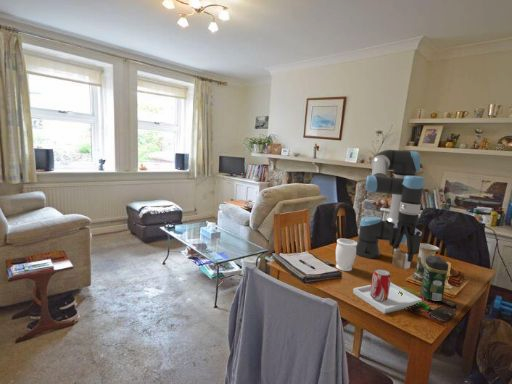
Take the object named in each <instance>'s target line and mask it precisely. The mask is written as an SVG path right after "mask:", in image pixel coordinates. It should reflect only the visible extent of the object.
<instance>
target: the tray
mask: <svg viewBox="0 0 512 384" xmlns="http://www.w3.org/2000/svg"><path fill="white" fill-rule="evenodd" d="M399 291H400V292H402V293H403V295H402V296H401V294H400V293H399ZM370 292H371V284H368V285H364V286H357V287H353V290H352V293H353V294H354V295H356V296H357V297H359V298H360V299H361V300H363V301H365V302H366V303H368V304H369V305H370V306H372V307H373V308H375V309H376V310H377V311H379V312H381V313H382V314H383V315H387V314H389V313H393V312H396V311H401V310H405V309H407V308H406V307H409V306H412V305H414V304H416V303H418V302H423V299H422V298H420V297H418V296H416V295H415V294H413V293H412V292H409V291H408V290H405V289H403V288H401V286H398V285H397V284H394V283H392V282H391V281H390V288H389V294H388V298H387V300H386V301H377V300H375V299H373V298H372V297H371V295H370ZM398 293H399V294H398ZM404 308H405V309H404ZM409 308H410V307H409Z"/></svg>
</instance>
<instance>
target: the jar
mask: <svg viewBox="0 0 512 384" xmlns="http://www.w3.org/2000/svg"><path fill="white" fill-rule="evenodd" d="M336 243H337V244H336V247H335V261H336V264H335V267H336V268H337V269H338V270H339V271H342V272H350V271H352V270H353V268H352V267H353V265H354V263H355V260H356V256H357V254H356V246H357V241H355V240H353V239H350V238H337V240H336Z"/></svg>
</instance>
